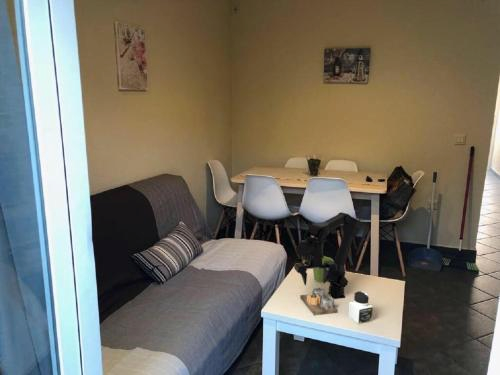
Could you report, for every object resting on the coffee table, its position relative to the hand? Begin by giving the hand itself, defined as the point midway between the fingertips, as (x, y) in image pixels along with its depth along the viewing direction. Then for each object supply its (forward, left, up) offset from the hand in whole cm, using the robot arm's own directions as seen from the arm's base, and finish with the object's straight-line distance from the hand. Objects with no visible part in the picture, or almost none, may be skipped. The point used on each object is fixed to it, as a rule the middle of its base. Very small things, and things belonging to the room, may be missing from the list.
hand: (314, 284), depth 187 cm
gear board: (-2, 0, -10) cm, 11 cm away
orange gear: (0, 0, -9) cm, 9 cm away
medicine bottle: (-15, +16, -11) cm, 24 cm away
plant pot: (-15, -26, -11) cm, 32 cm away
